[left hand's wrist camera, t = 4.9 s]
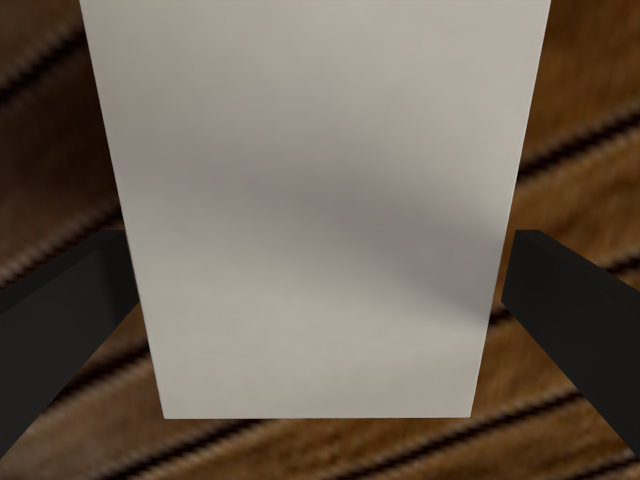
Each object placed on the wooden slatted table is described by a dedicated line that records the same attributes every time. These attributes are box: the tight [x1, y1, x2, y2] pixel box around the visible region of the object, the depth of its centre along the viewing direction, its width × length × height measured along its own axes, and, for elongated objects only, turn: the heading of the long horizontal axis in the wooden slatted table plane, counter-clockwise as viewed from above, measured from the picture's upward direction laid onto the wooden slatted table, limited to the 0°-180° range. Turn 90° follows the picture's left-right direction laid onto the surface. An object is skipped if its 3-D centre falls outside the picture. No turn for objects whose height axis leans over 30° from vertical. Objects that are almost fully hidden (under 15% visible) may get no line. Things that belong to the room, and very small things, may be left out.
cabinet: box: [79, 0, 551, 419], centre depth 13 cm, size 18×10×11 cm, turn 0°
